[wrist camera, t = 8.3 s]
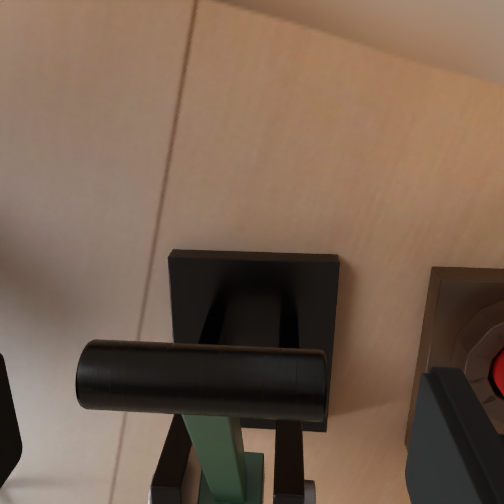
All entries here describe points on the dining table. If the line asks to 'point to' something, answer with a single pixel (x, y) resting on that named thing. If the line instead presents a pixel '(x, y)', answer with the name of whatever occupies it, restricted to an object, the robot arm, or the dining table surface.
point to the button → (499, 371)
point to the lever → (208, 398)
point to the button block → (464, 333)
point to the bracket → (249, 334)
